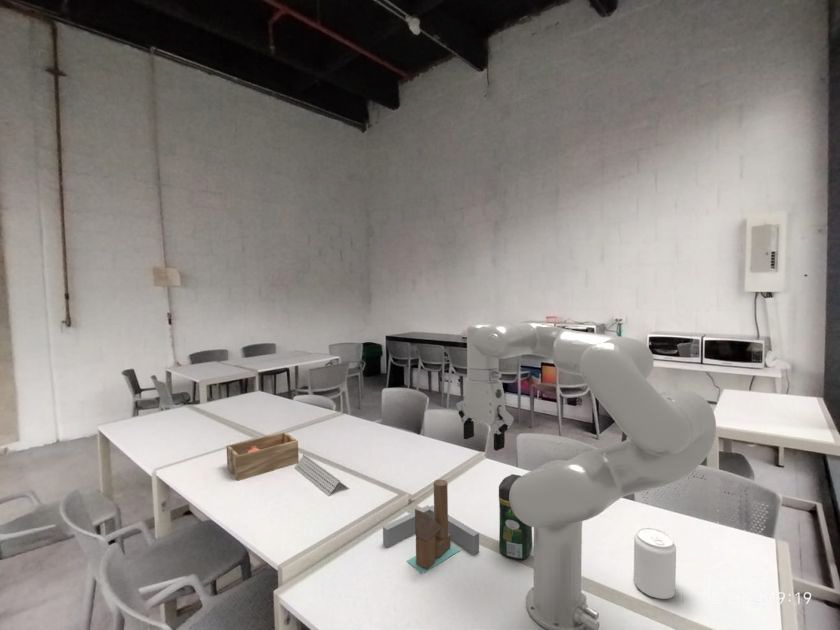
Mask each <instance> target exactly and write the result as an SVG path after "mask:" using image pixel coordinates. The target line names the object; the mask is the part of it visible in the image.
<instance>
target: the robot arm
mask: <svg viewBox="0 0 840 630" xmlns="http://www.w3.org/2000/svg"><path fill="white" fill-rule="evenodd" d="M466 347H467V349H466V353H467V354H466V356H467V357H466V361H467V362H466V364H467V368H466V369H467V370H466V371H467V372H466V374H467V377H466V378H465V383H464V389H463V400H460V401H458V402H456V405H455V406H456V408H457V411H458V415H459V417H460V418H461V419H460V420H461V424H463V439H464V440H468V439H471V438H474V436H475V423H474V422H475V421H478V422H481V423H485V424H488V425H491V426H492V429H493V430H494V432H495V433H493V450H494V451H496V452H497V451H500V450H502V449H505V446H506V445H505V444H506V443H505V442H506V441H505V440H506V439H505V437H506V436H505V435H506V433H507V432H508V430H509V429H510V428H511V426H512V424H513V422H514V420H515V419H514V416H513V415H512V414H511V413H509V412H508V410H506V401H505V400H506V399H505V392H504V388H503V386H504V385H503V382H502V381H501V380H500V379H501V378H502V373H501V372H500V371H499V369H500V368H499V367H500V366H499V360H503V359H509V358H514V357H518V356H519V357H520V356H526V355H529V356H530V355H532V356H537V357H542V358H548V359H551V360H552V361H553V364H554V366H555V368H556V369H557V370H558V371H560V372H562V373H566V374H571V375H576V376H581V377H582V379H583V381H584V383H585V384H586V386H587V388H588V389H589V390H590V392H591V393H592V394H593V396H594V397H595V399H597V401H598V402H599V403H600V404H601V406H602V407H603V408H604V410H606V412H607V413H608V414H609V415H610V417H611V418H612V419H613V421H614V422H615V423H616V424H617V426H618V427H619V428H620V429H621V431H622V432H623V433H624V434H625V436H627V438H628V439H625V440H624V441H620V442H617V443H613V444H610V445H607V446H604V447H600V448H597V449H592V450H588V451H587V450H586V451H585V452H582V453H579V454H578V455H576V456H573V457H572V458H570V459H569V460H564V459H556V460H551V461H548V462H545V463H543V464H541V465H540V466H538V467H535V468H534V469H532V470H530V471H528V472H527V473H525V474H523V475H520V476H521V477H519V478H518V479H517V480H516V481H515V482H514V483H513V485H512V487H511V489H510V493H509V502H510V506H511V509H512V511H513V513H514V514H515V515H516V517H517V518H518V519H519V520H520V521H522V522H523V523H524V524H526V525H528V526H531V527H532V528H533V586H532V587H531V588H530V589H529V590H528V592H527V593H526V597H525V605H526V610H527V612H528V613H529V615H530V616H531V618H532V619H533V620H534V621H535V622H536V623H537V624H538V625H540V626H542V627H543V628H545V629H546V630H584V629H586V628H587V629H589V630H599V629H600V621H598V619H599V617H600V614H599V612H597V611H596V610H594V609H592V608H590V607H589V605H588V604H587V595H585V594H584V593H582V553H583V552H582V550H583V547H582V544H583V543H582V542H583V537H582V536H583V522H584V521H588V520H591V519H592V518H596V517H597V516H598V515H601V514H602V513H603V512H604V511H606V510H607V509H608V508H609V507H610V506H612V505H613V504H615V503H616V502H617V501H619V500H620V499H621V498H624V497H626V496H629V495H633V494H637V493H641V492H645V491H648V490H652V489H656V488H659V487H662V486H667V485H669V484H671V483H674V482H677V481H679V480H681V479H683V478H685V477H686V476H688V475H689V474H691V473H692V472H694V471H695V470H696V469H697V468H698V467H699V466H700V465H702V463H703V462H704V461H705V460H706V458H707V457H708V456H709V454H710V452H711V450H712V449H713V448H712V447H713V446H714V443H715V439H716V434H717V433H716V432H717V423H716V417H715V412H714V410H713V408H712V406H711V405H710V403H709V402H708V401H707V400H706V399H705V397H703V396H702V395H701V394H698V393H696V392H694V391H691V390H687V389H671V390H666V391H663V392H660V393H659V391H658V390H656V388H654V386H653V385H652V383H650V382H649V381H648V379H647V378H648V377H650V375H651V373H652V371H653V369H654V363H655V360H654V355H653V352H652V350H651V349H650V348H649V346H648V345H647V344H645V343H644V342H642V341H640V340H638V339H635V338H631V337H625V336H619V335H612V334H611V335H610V334H602V333H595V332H586V331H580V330H573V329H567V328H563V327H559V326H554V325H548V324H547V325H546V324H540V323H534V322H533V323H532V322H517V323H516V322H515V323H507V324H499V325H496V324H494V323H488V322H487V323H486V322H482V323H480V322H479V323H471V324H469V325H468V326H467V329H466ZM474 420H475V421H474Z"/></svg>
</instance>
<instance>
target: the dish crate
mask: <svg viewBox="0 0 840 630" xmlns="http://www.w3.org/2000/svg"><path fill="white" fill-rule="evenodd" d="M253 446H256V448H257V449H260V450H257V451H253V452H250V453H247V452H248V451H249V450H251V449H252V447H253ZM299 461H300V459H299V440H297V439H296V438H295V437H293V436H292V435H290V434H289V433H288V432H285V431H282V432H278V433H274V434H269V435H266V436H265V435H264V436H261V437H257V438H254V439H253V438H252V439H249V440H246V441H241V442H238V443H237V442H236V443H234V444H233V443H232V444H229V445H228V444H227V445H226V464H227V465H226V467H227V469H228V471H229V472H230V473H231V474H232V475H233V477H234V478H235V479H236V480H237V482H239V481H243V480H246V479H249V478H252V477H257V476H259V475H263V474H266V473H268V472H273V471H276V470H280V469H283V468H286V467H289V466H292V465H297V463H298V462H299Z"/></svg>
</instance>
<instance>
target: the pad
mask: <svg viewBox="0 0 840 630" xmlns="http://www.w3.org/2000/svg"><path fill="white" fill-rule="evenodd" d="M460 551H461V550H460V549H459V548H457V547H456V546H454V545H453V544H451V546H450V548H449V549H448V550H447V551H446V552H445V553H444V554H443V555H442V556H441V557H439V558H435V563H434V564H433V565H432V566H431V567H430V568H429V569H425V568H423V567H421V566H419V565H417V564H416V555H414V556H413V557H411V558H410V559H408V560H407V559H406V563H407V564H409V565H410V566H411V567H413V568H414V570H416V571H418V572H419V573H420V574H421V575H423V574H425V573H426V572H428V571H430V570H431V569H433V568H435V567H436V566H438V565H440V564H441V563H443V562H445V561H446V560H447V559H450V558H451V557H453V556H454V555H456V554H457V553H459V552H460Z"/></svg>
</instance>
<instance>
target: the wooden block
mask: <svg viewBox="0 0 840 630" xmlns="http://www.w3.org/2000/svg"><path fill="white" fill-rule="evenodd" d="M448 490H449V489H448V482H447V481H446V480H445V479H441V478H440V479H436V480H434V481H433V506H434V519H432V518H431V517H430V516H429V515H428V514H427V513H424V512H422V511H419V509H417V508H415V509H414V512H415V534H414V535H415V536H414V537H415V556H416V564H417V565H419V566H421V567H423V568H425V569H429V568H430V567H431V566H432V565H433V564H434V563H435V558H439V557H441V556H442V555H443V554H444V553H445V552H446V551H447V550H448V549H449V548H450V546H451V545H452V543H451V542H452V540H450V534H448V515H449V510H448V509H449V507H448V506H449V505H448V502H449V500H448V498H449V495H448Z"/></svg>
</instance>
